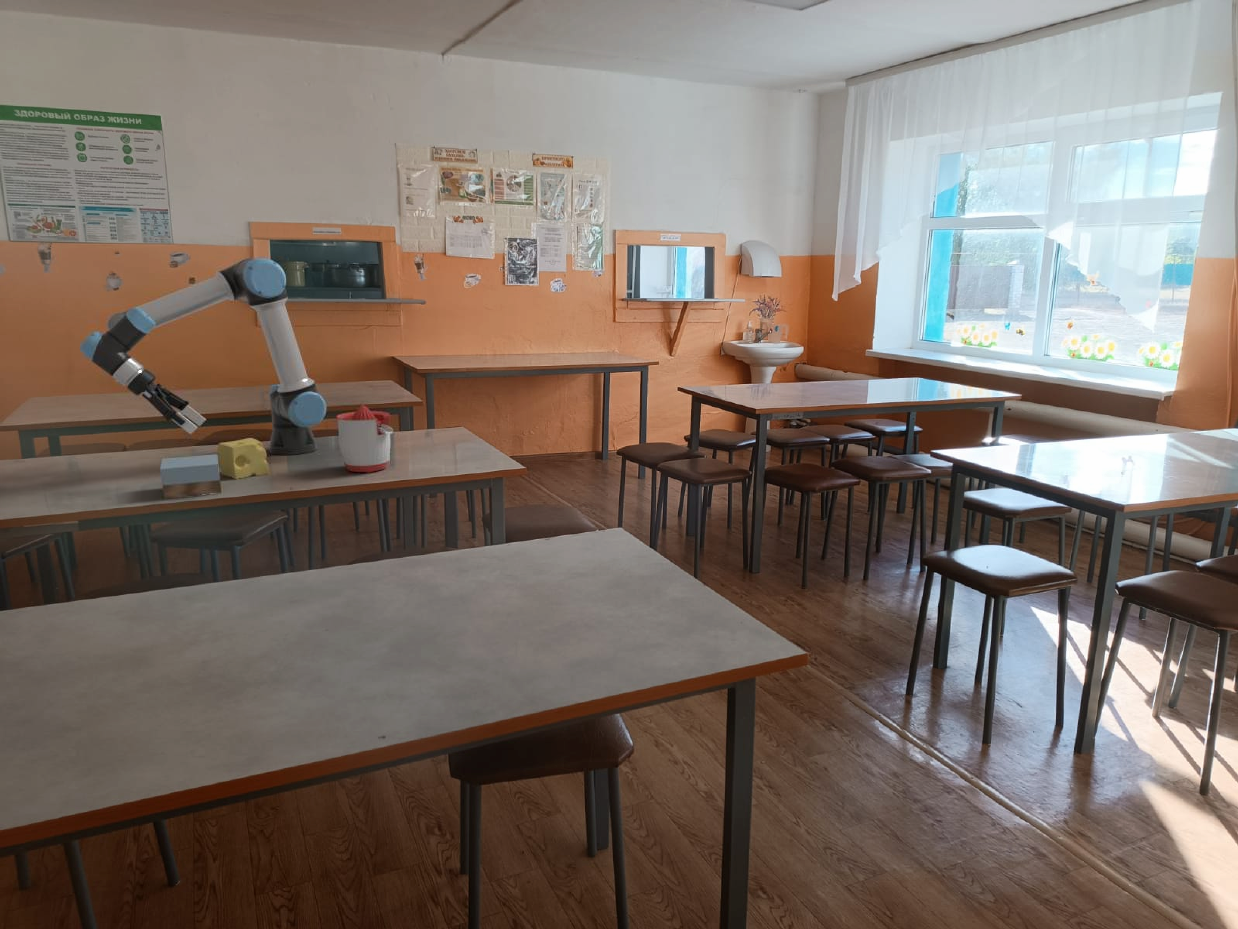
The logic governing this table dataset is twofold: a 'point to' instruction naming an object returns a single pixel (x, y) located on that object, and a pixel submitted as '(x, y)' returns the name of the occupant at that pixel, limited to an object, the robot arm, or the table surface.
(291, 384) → the robot arm
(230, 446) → the cheese
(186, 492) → the tower base block
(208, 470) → the tower top block
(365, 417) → the citrus juicer
